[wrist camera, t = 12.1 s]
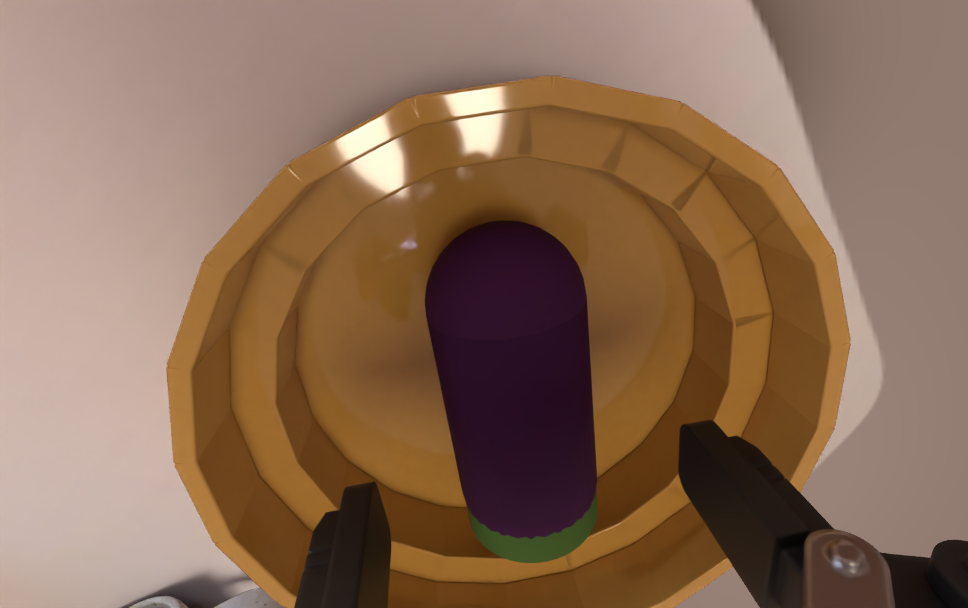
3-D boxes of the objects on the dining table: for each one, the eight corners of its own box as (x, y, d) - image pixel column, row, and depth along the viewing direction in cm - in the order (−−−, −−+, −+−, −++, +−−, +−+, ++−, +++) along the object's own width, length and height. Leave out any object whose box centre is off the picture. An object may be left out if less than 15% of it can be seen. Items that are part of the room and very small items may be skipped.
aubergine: (409, 218, 16) (409, 265, 12) (555, 194, 17) (609, 229, 12) (464, 488, 21) (479, 596, 17) (576, 465, 22) (621, 563, 17)
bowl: (162, 134, 15) (15, 155, 10) (748, 46, 16) (912, 20, 11) (325, 559, 23) (293, 703, 18) (717, 484, 24) (803, 599, 18)
